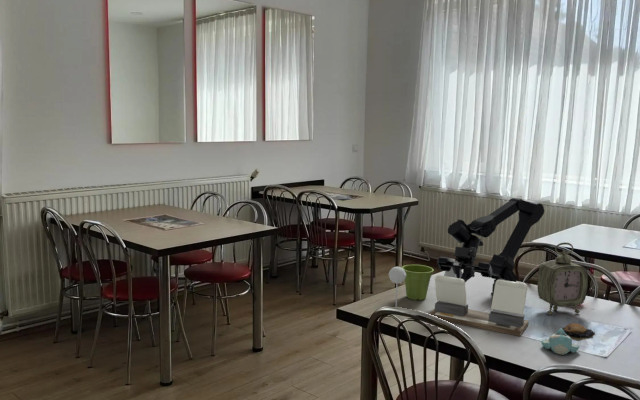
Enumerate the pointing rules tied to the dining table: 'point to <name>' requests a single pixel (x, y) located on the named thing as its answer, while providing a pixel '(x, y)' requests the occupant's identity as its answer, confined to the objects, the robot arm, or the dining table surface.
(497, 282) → the toggle
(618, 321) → the dining table surface
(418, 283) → the plant pot
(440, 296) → the toggle
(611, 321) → the dining table surface
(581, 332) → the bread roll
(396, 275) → the lollipop
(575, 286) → the tabletop clock
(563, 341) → the stuffed animal
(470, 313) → the switch board
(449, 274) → the flask
